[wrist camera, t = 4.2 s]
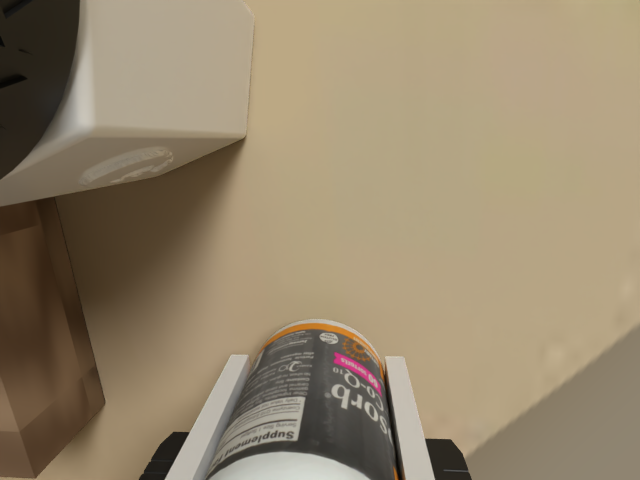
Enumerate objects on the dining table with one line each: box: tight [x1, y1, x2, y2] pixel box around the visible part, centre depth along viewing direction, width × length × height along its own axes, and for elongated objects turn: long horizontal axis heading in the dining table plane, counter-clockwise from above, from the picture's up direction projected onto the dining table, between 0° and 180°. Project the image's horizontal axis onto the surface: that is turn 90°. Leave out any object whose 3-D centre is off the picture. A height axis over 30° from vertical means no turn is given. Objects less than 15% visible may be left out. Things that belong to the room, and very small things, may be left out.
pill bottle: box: [204, 319, 399, 480], centre depth 11 cm, size 6×6×10 cm
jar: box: [0, 0, 255, 207], centre depth 9 cm, size 9×8×12 cm
